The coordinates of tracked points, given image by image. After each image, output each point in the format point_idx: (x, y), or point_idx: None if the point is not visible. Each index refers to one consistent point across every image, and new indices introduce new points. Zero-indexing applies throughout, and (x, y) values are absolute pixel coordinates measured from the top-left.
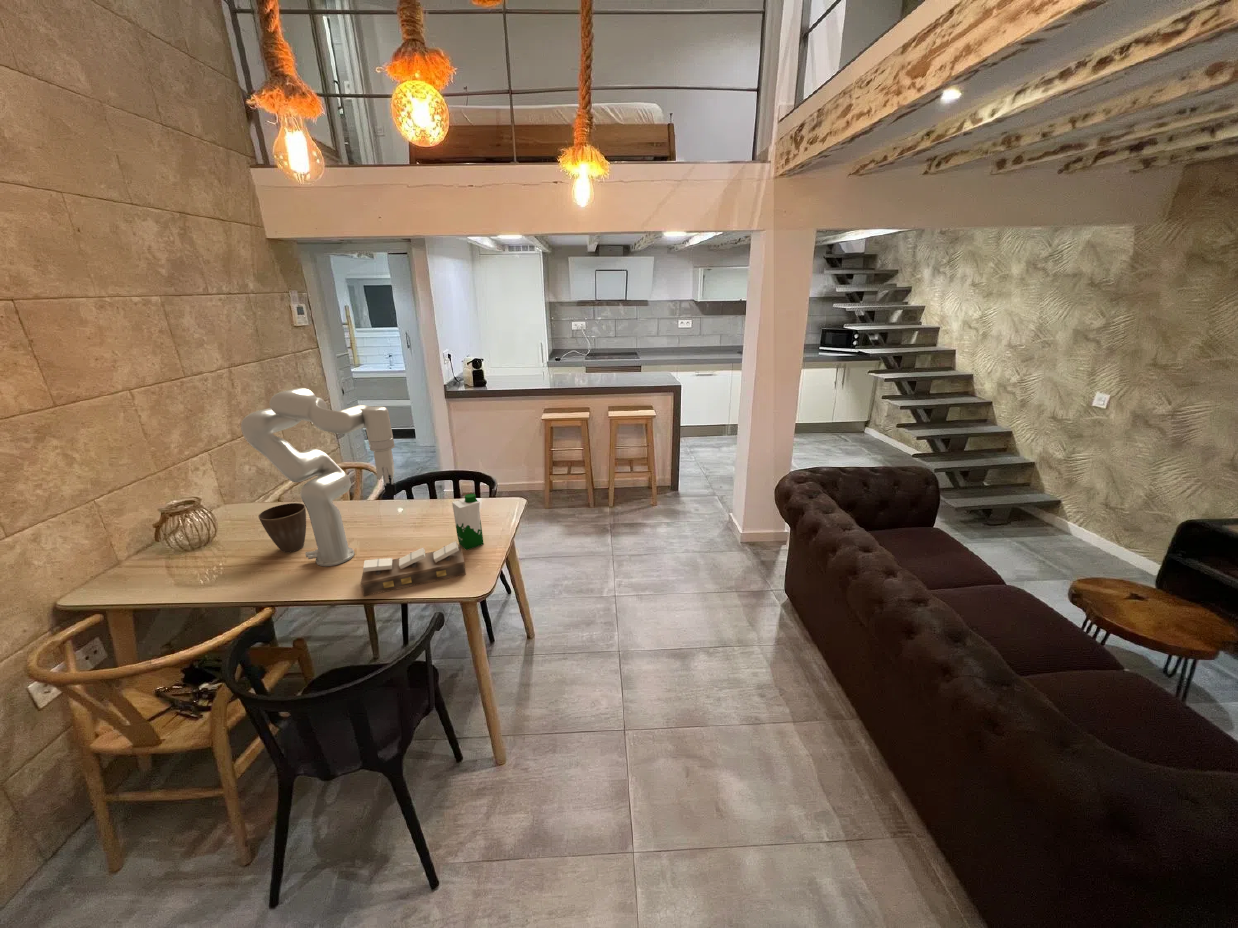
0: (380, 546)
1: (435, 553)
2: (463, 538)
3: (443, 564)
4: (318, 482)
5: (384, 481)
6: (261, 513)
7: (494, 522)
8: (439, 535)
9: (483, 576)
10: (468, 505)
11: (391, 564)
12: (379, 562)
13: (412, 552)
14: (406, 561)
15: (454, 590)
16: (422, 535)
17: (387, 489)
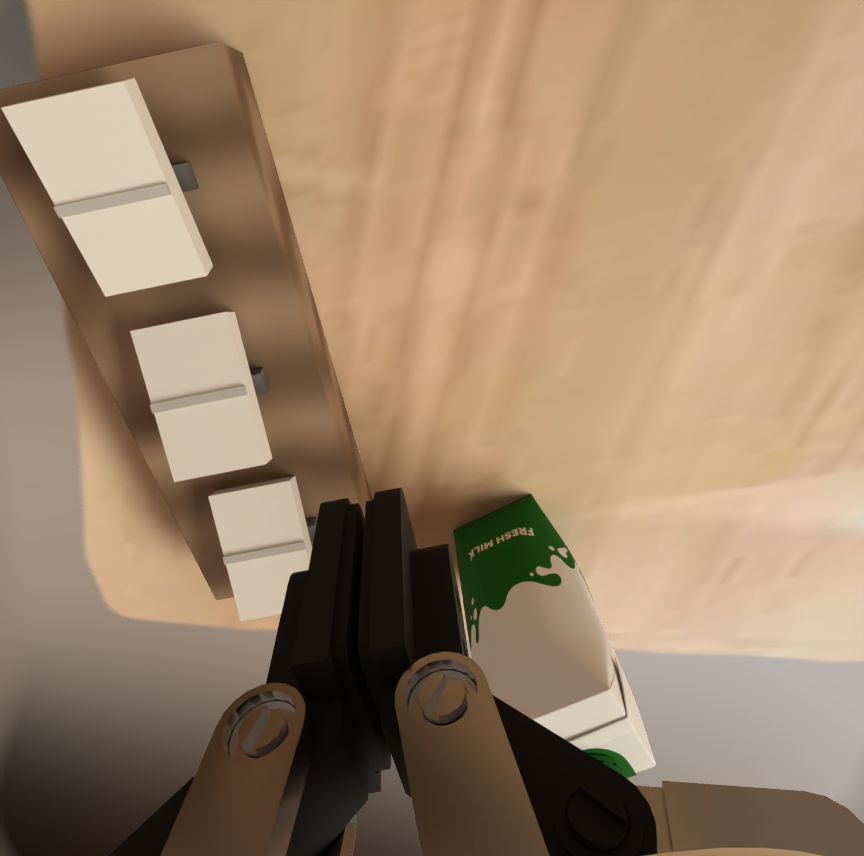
0: (676, 29)
1: (269, 496)
2: (468, 566)
3: (194, 525)
4: None
5: (176, 848)
6: None
7: (698, 603)
8: (671, 389)
9: (211, 610)
10: None
11: (116, 292)
12: (120, 207)
13: (247, 397)
14: (154, 376)
15: (103, 530)
16: (717, 295)
17: (278, 638)
